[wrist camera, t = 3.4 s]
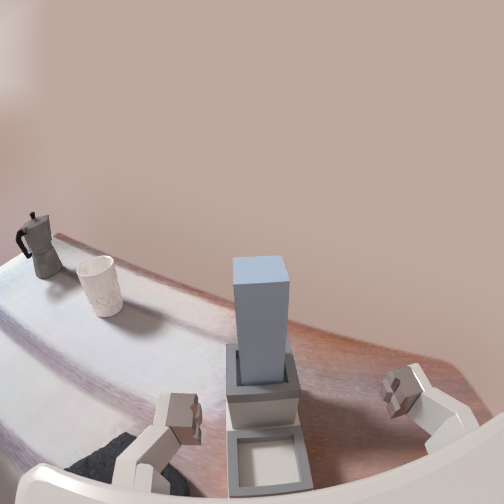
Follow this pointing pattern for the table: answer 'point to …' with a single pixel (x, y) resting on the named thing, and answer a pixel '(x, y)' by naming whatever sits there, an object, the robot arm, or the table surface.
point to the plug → (261, 317)
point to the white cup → (101, 285)
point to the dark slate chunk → (104, 463)
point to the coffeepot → (39, 246)
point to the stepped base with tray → (264, 433)
